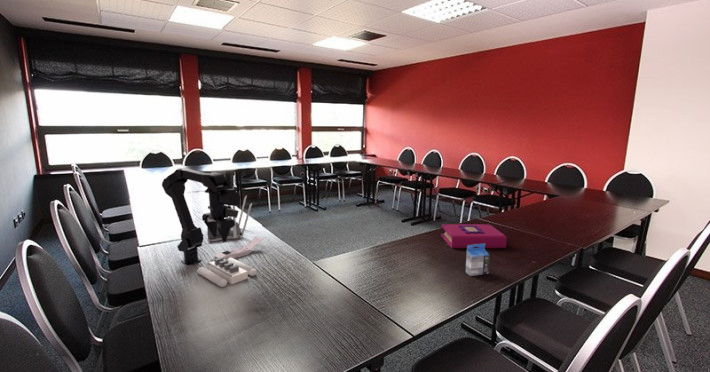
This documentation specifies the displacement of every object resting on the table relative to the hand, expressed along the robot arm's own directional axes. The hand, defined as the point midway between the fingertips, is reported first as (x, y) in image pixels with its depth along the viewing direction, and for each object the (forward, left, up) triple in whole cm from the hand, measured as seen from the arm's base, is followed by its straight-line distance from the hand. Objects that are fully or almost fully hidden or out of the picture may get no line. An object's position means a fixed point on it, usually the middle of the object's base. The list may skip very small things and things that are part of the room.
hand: (219, 239), depth 142 cm
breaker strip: (+7, -1, -13) cm, 15 cm away
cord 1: (+7, -8, -13) cm, 17 cm away
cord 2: (+7, +5, -13) cm, 16 cm away
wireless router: (-41, +27, -13) cm, 51 cm away
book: (+68, +106, -14) cm, 126 cm away
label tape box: (+85, +69, -13) cm, 110 cm away
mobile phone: (-8, +13, -14) cm, 20 cm away
